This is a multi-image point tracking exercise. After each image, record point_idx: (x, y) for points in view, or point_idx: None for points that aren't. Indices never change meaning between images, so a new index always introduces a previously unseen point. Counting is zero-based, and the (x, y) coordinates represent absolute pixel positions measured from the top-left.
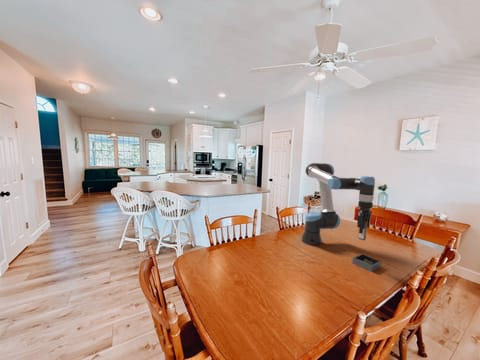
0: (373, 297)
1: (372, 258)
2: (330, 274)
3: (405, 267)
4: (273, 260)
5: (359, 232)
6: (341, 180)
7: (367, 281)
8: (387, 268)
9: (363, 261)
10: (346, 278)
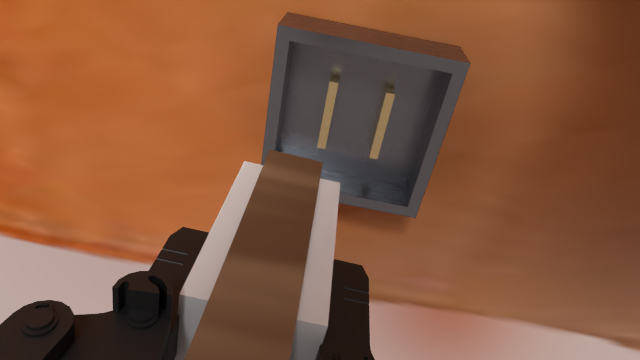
0: (3, 215)
1: (422, 158)
2: None
3: (539, 295)
4: None
5: (172, 238)
6: None
7: (119, 166)
8: (426, 223)
9: (385, 83)
10: (11, 60)
